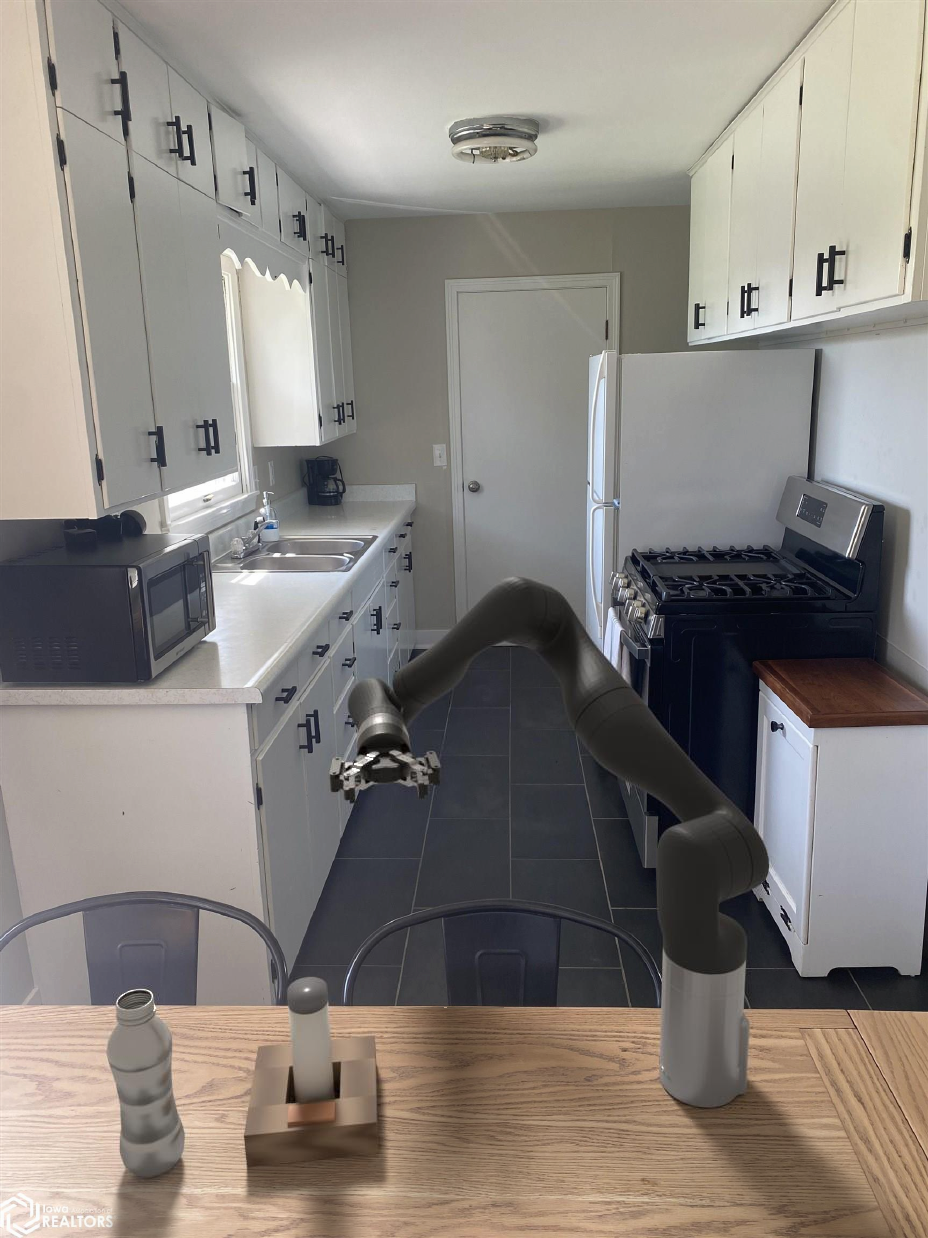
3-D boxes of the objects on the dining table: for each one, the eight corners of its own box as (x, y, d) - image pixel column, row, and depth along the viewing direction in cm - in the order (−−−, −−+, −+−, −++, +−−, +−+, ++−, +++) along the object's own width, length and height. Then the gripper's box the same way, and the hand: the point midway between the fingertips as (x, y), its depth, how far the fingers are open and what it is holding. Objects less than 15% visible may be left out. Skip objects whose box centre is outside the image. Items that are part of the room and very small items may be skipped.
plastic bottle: (168, 1191, 96) (148, 1023, 92) (109, 1182, 98) (86, 1016, 93) (197, 1143, 102) (180, 984, 98) (142, 1135, 104) (122, 977, 99)
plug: (335, 1095, 109) (327, 975, 105) (334, 1124, 105) (326, 1000, 101) (297, 1099, 108) (288, 979, 105) (295, 1128, 104) (285, 1003, 100)
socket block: (376, 1064, 114) (374, 1032, 113) (378, 1153, 100) (376, 1119, 99) (260, 1075, 113) (257, 1043, 112) (246, 1167, 99) (243, 1132, 98)
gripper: (330, 724, 128) (327, 769, 113) (433, 718, 130) (443, 762, 114) (333, 775, 130) (330, 826, 115) (434, 768, 132) (445, 818, 116)
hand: (387, 794), depth 114 cm, fingers open, 8 cm apart
